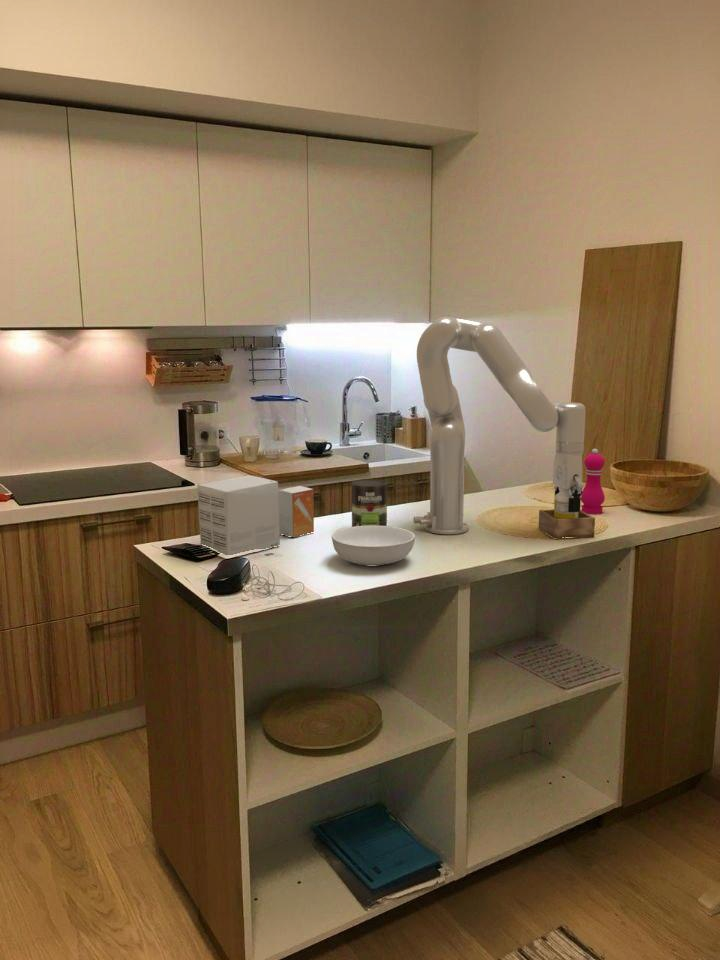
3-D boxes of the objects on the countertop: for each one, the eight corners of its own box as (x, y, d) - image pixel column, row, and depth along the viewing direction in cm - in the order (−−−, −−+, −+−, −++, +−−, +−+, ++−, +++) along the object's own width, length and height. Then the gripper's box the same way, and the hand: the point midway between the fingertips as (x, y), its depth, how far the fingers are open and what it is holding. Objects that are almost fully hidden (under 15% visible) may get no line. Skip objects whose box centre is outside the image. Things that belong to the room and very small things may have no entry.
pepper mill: (606, 514, 248) (610, 450, 244) (583, 514, 248) (586, 450, 244) (600, 509, 255) (603, 446, 251) (577, 509, 255) (580, 446, 251)
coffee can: (388, 534, 227) (388, 485, 224) (352, 535, 227) (351, 486, 224) (386, 525, 237) (386, 478, 234) (351, 526, 237) (350, 479, 234)
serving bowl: (431, 561, 203) (432, 534, 202) (373, 579, 189) (373, 551, 187) (373, 544, 218) (373, 520, 216) (314, 561, 203) (314, 534, 202)
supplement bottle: (562, 525, 232) (564, 481, 229) (582, 529, 227) (584, 485, 224) (548, 529, 227) (550, 484, 225) (568, 534, 222) (570, 488, 220)
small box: (293, 538, 224) (292, 493, 221) (278, 534, 228) (277, 489, 225) (314, 533, 229) (313, 488, 227) (300, 529, 234) (299, 485, 231)
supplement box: (251, 537, 225) (249, 474, 221) (281, 547, 216) (279, 481, 212) (198, 550, 213) (195, 483, 210) (228, 561, 204) (225, 491, 200)
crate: (554, 539, 221) (555, 520, 220) (538, 528, 232) (539, 510, 231) (594, 537, 223) (595, 518, 222) (576, 526, 234) (577, 508, 233)
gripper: (544, 443, 230) (542, 501, 234) (569, 453, 214) (566, 515, 217) (569, 442, 232) (567, 500, 235) (596, 452, 215) (592, 514, 218)
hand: (566, 507), depth 226 cm, fingers open, 9 cm apart
